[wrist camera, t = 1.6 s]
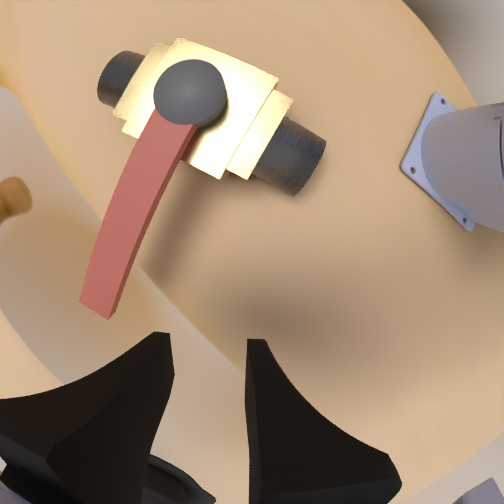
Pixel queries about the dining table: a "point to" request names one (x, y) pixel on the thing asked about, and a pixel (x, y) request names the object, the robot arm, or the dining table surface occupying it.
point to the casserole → (171, 485)
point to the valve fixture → (220, 116)
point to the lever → (150, 175)
